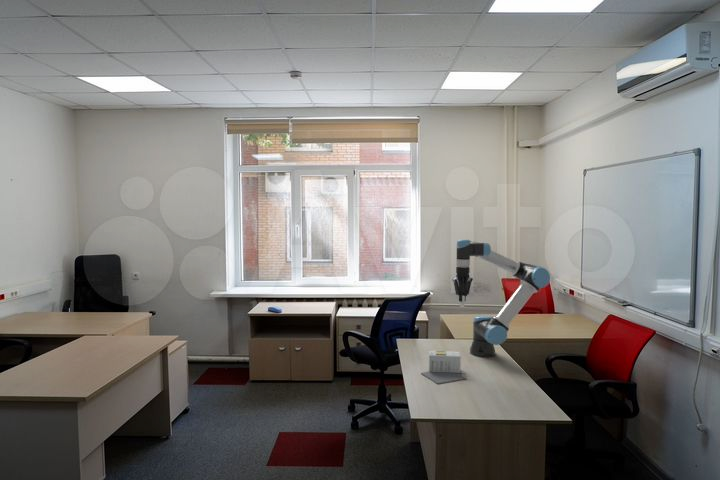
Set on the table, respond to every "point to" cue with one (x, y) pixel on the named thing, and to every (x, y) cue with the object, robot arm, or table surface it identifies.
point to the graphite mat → (443, 377)
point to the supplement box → (444, 361)
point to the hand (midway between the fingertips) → (462, 306)
